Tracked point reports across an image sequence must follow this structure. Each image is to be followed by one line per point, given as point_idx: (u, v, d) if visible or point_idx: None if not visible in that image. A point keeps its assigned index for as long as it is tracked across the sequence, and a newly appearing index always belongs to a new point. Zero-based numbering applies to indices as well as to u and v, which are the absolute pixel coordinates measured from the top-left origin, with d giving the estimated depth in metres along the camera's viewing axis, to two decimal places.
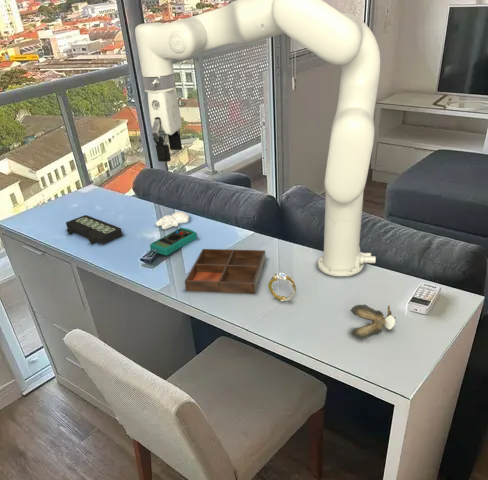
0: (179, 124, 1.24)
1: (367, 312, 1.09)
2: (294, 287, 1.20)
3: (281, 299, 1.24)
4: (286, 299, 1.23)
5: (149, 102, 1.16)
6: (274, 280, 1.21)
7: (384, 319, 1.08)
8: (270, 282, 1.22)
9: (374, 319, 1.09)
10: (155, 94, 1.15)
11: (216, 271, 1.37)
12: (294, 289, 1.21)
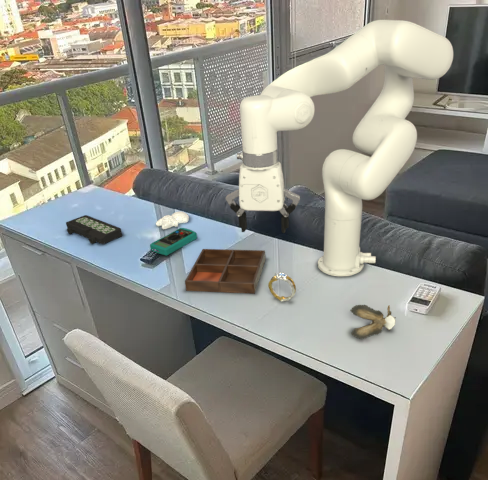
0: (270, 207, 1.10)
1: (367, 312, 1.09)
2: (294, 287, 1.20)
3: (281, 299, 1.24)
4: (286, 299, 1.23)
5: None
6: (274, 280, 1.21)
7: (384, 319, 1.08)
8: (270, 282, 1.22)
9: (374, 319, 1.09)
10: None
11: (216, 271, 1.37)
12: (294, 289, 1.21)
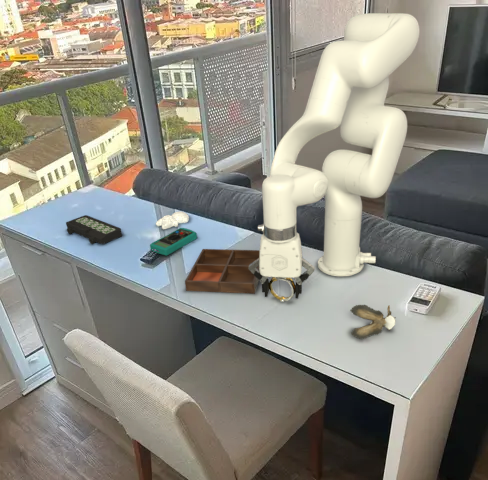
0: (289, 274, 1.16)
1: (367, 312, 1.09)
2: (294, 287, 1.20)
3: (281, 299, 1.24)
4: (286, 299, 1.23)
5: None
6: (274, 280, 1.21)
7: (384, 319, 1.08)
8: (270, 282, 1.22)
9: (374, 319, 1.09)
10: None
11: (216, 271, 1.37)
12: (294, 289, 1.21)
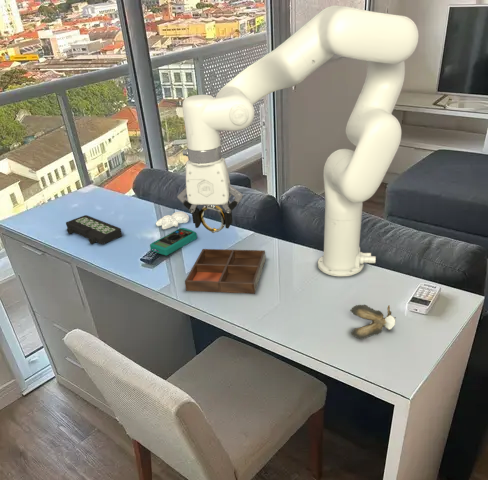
0: (216, 201, 1.16)
1: (367, 312, 1.09)
2: None
3: (212, 230, 1.23)
4: (217, 230, 1.22)
5: None
6: (203, 210, 1.20)
7: (384, 319, 1.08)
8: (200, 212, 1.21)
9: (374, 319, 1.09)
10: None
11: (216, 271, 1.37)
12: (224, 219, 1.20)
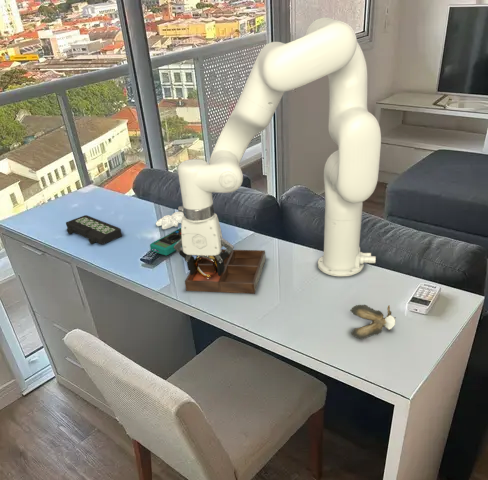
0: (209, 252, 1.26)
1: (367, 312, 1.09)
2: (216, 265, 1.30)
3: (206, 277, 1.33)
4: (210, 277, 1.32)
5: None
6: (198, 259, 1.30)
7: (384, 319, 1.08)
8: (195, 261, 1.31)
9: (374, 319, 1.09)
10: None
11: None
12: (216, 267, 1.30)
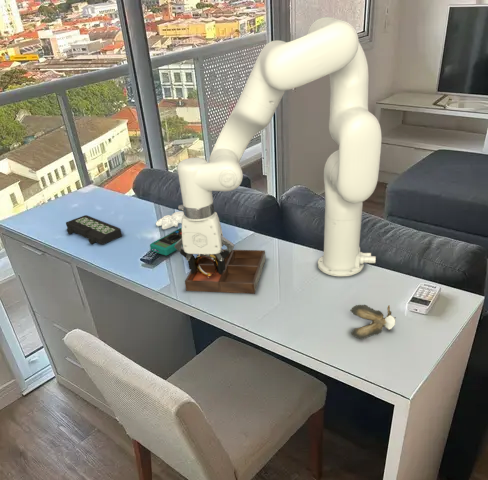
0: (210, 251, 1.25)
1: (367, 312, 1.09)
2: (217, 264, 1.30)
3: (207, 276, 1.33)
4: (211, 275, 1.32)
5: None
6: (198, 258, 1.30)
7: (384, 319, 1.08)
8: (195, 260, 1.31)
9: (374, 319, 1.09)
10: None
11: None
12: (217, 266, 1.30)
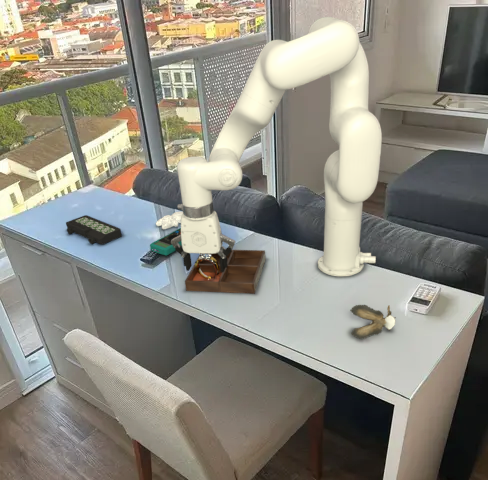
0: (209, 250, 1.25)
1: (367, 312, 1.09)
2: (217, 267, 1.30)
3: (207, 278, 1.33)
4: (211, 278, 1.33)
5: None
6: (199, 260, 1.30)
7: (384, 319, 1.08)
8: (196, 262, 1.32)
9: (374, 319, 1.09)
10: None
11: None
12: (217, 269, 1.30)
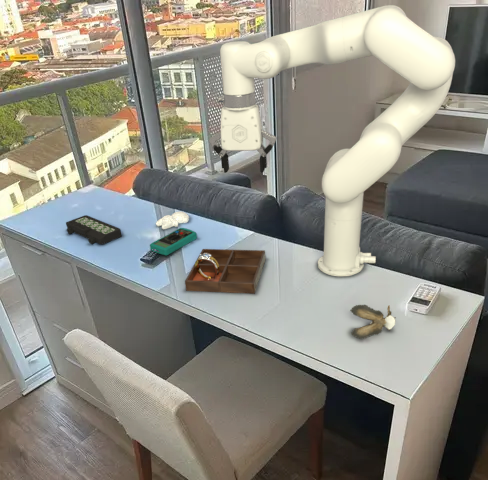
0: (249, 146, 1.21)
1: (367, 312, 1.09)
2: (217, 267, 1.30)
3: (207, 278, 1.33)
4: (211, 278, 1.33)
5: None
6: (199, 260, 1.30)
7: (384, 319, 1.08)
8: (196, 262, 1.32)
9: (374, 319, 1.09)
10: None
11: None
12: (217, 269, 1.30)
